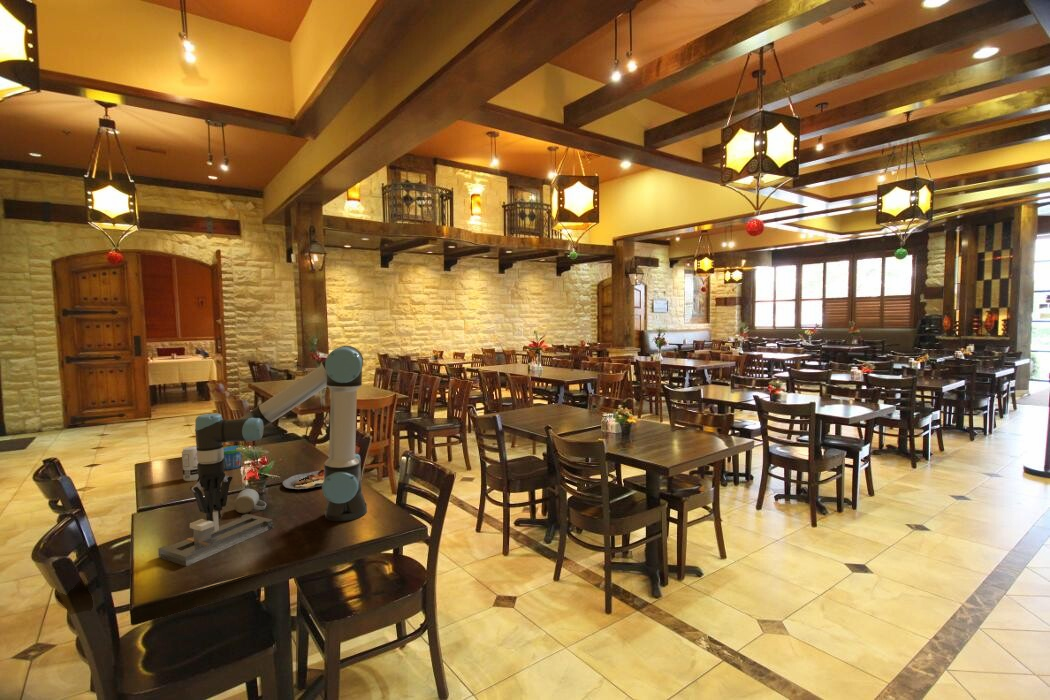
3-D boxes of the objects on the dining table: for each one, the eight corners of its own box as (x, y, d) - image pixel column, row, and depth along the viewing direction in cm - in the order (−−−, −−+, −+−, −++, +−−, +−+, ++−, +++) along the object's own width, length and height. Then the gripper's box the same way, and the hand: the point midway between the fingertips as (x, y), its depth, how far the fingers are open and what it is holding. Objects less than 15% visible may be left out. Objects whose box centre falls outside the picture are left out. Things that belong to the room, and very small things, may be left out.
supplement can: (186, 477, 237) (185, 446, 236) (206, 475, 240) (204, 445, 239) (180, 482, 229) (178, 450, 228) (201, 480, 232) (199, 449, 231)
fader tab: (203, 539, 164) (202, 518, 164) (214, 542, 162) (213, 521, 161) (190, 544, 161) (189, 523, 160) (202, 547, 158) (201, 526, 158)
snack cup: (212, 472, 244) (211, 452, 243) (216, 466, 254) (215, 447, 253) (248, 468, 250) (247, 448, 249) (251, 463, 260) (250, 444, 259)
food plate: (334, 471, 243) (333, 464, 243) (348, 483, 225) (348, 476, 224) (278, 483, 228) (277, 475, 228) (289, 497, 210) (288, 489, 209)
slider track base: (247, 521, 183) (246, 513, 183) (273, 527, 177) (272, 519, 177) (158, 557, 156) (158, 548, 156) (186, 566, 150) (185, 556, 150)
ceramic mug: (233, 515, 189) (233, 496, 188) (238, 508, 196) (237, 489, 196) (264, 512, 192) (264, 493, 192) (267, 505, 200) (267, 486, 200)
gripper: (222, 454, 171) (225, 521, 172) (183, 464, 159) (187, 536, 161) (236, 457, 168) (240, 524, 169) (197, 467, 156) (201, 540, 157)
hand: (214, 530), depth 165 cm, fingers closed
